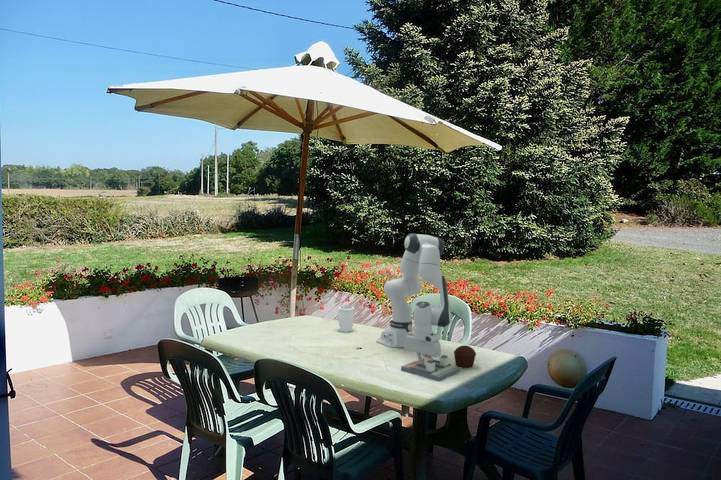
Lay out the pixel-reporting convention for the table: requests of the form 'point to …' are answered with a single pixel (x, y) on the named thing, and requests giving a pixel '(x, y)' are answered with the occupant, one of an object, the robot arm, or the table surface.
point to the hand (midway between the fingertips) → (421, 361)
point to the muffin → (464, 356)
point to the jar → (346, 318)
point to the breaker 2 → (444, 360)
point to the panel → (436, 375)
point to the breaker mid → (427, 359)
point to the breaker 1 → (430, 366)
